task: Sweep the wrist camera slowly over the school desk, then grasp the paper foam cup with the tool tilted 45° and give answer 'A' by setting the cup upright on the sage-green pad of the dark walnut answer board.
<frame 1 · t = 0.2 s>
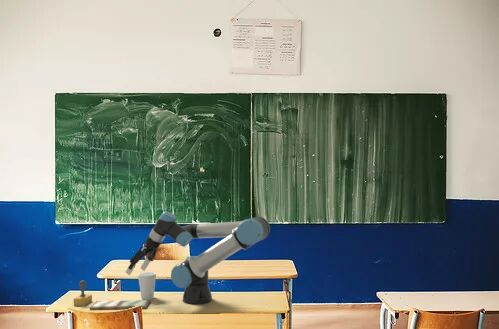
hand: (135, 271, 287), 16 cm above the table, tool tilted 35°, fingers open, 13 cm apart
rubber stamp: (82, 303, 287), on the table
foam cup: (147, 298, 296), on the table
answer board: (120, 305, 281), on the table
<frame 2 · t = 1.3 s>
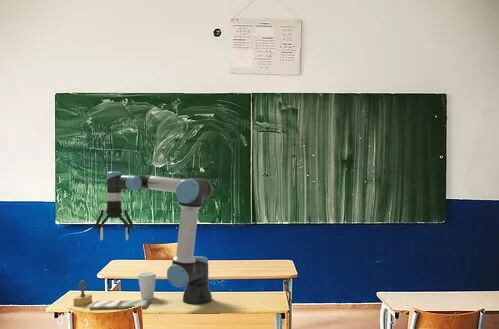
hand: (114, 240, 296), 31 cm above the table, tool pointing down, fingers open, 13 cm apart
nothing on the table moved.
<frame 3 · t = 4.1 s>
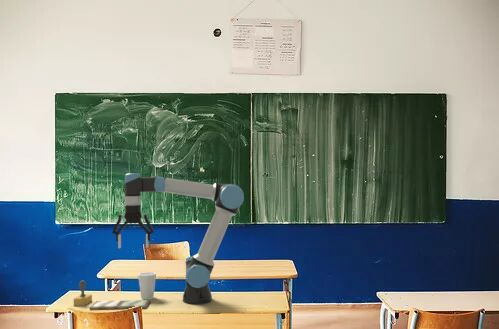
hand: (133, 247, 272), 31 cm above the table, tool pointing down, fingers open, 13 cm apart
nothing on the table moved.
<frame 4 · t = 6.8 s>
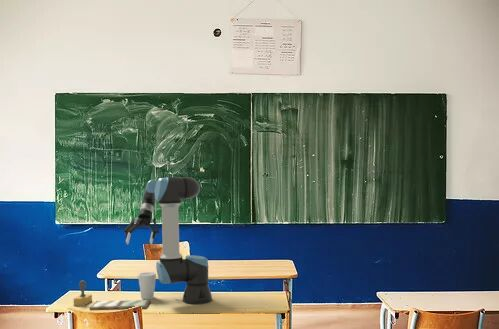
hand: (138, 243, 307), 28 cm above the table, tool tilted 45°, fingers open, 13 cm apart
nothing on the table moved.
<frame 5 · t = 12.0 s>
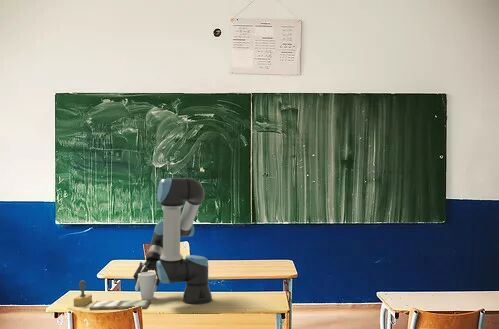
hand: (145, 290, 293), 5 cm above the table, tool tilted 45°, fingers closed on foam cup, 9 cm apart
foam cup: (147, 298, 296), on the table, touching gripper
everything else where it was.
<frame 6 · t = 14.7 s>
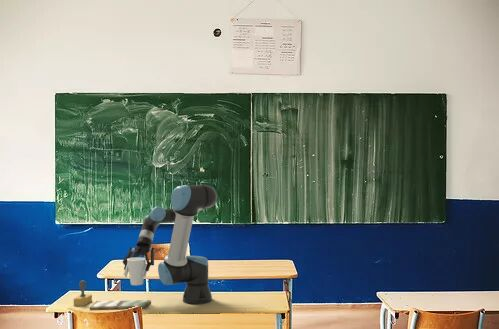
hand: (134, 275, 283), 15 cm above the table, tool tilted 45°, fingers closed on foam cup, 9 cm apart
foam cup: (137, 284, 286), point 10 cm above the table, touching gripper
everything else where it was.
when the fingers open (7 cm above the table, at t = 17.5 s): foam cup drops 1 cm, resting on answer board.
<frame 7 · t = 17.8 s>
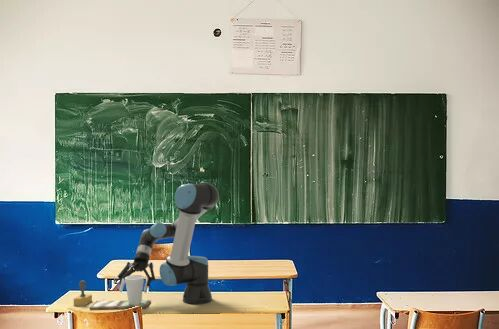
hand: (132, 291, 278), 8 cm above the table, tool tilted 45°, fingers open, 12 cm apart
foam cup: (134, 303, 281), point 1 cm above the table, touching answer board
everything else where it was.
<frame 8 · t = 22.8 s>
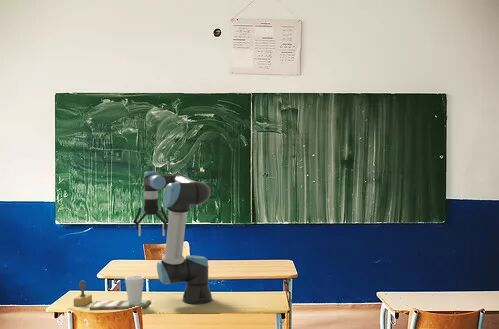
hand: (151, 235, 315), 31 cm above the table, tool pointing down, fingers open, 13 cm apart
nothing on the table moved.
at the end: foam cup inside the target area on the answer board (0.1 cm from its centre), point 1.1 cm above the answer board's base; foam cup tilted 0°; the gripper is holding nothing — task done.
